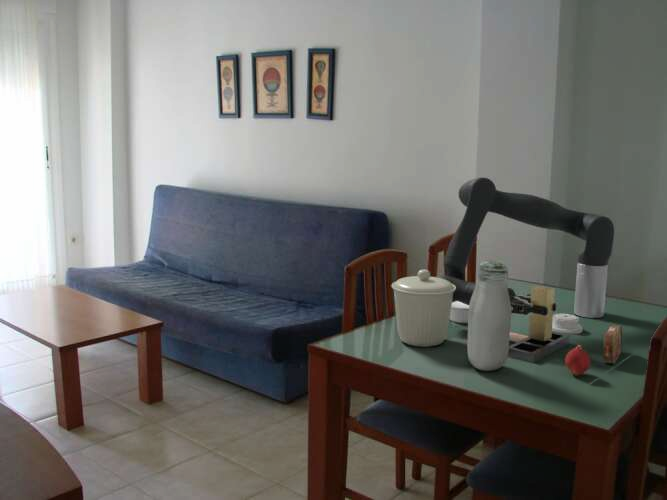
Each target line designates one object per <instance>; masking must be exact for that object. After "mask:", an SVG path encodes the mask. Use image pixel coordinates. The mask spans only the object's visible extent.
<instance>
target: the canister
mask: <svg viewBox="0 0 667 500" xmlns="http://www.w3.org/2000/svg"><path fill="white" fill-rule="evenodd" d="M437 277H438V276H431V272H430V271H429V270H428V269H420V270H419V271H417V275H413V276H405V277H401V278H399V279H397V281H394V282H392V284H391V288H392V290H393V293H394V294H393V295H394V296H393V297H394V307H395V317H396V326H397V334H398V337H399V339H400V340H401V341H402V342H404V343H405V344H406V345H409V346H410V345H411V346H412V347H413V346H414V347H423V348H424V347H427V348H428V347H435V346H436V347H437V345H441V344H442V343H444V341H445V339H446V337H447V333H448V329H449V324H450V319H449V318H450V312H451V305H452V299H453V292H454V291H455V290H456V286H455V285H453V284H452V283H451V282H449V281H447V280H445V279H442V278H437Z"/></svg>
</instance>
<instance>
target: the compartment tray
mask: <svg viewBox="0 0 667 500" xmlns="http://www.w3.org/2000/svg"><path fill="white" fill-rule="evenodd" d="M569 344H570V334H565V333H559V332H555V331H552V337H551V338H550V339H548V340H546V341H541V340H536V339H532V338H529V337H527V338H525V339H523V340H521V341H519V342H515V343H513V344H511V345H510V344H509V350H508V356H507V357H509V358H514V359H518V360H520V361H524V362H529V363H532V364H534V363H536V362H537V361H540V360H541V359H543V358H546V357H547V356H548V355H551V354H553V353H554V352H556V351H558V350H560V349H561V348H563V347H565V346H567V345H569Z"/></svg>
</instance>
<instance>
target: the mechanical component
mask: <svg viewBox="0 0 667 500" xmlns="http://www.w3.org/2000/svg"><path fill="white" fill-rule="evenodd" d="M579 322H580V318H579V317H578V316H576V315H575V314H568V313H554V314H553V322H552V332H555V333H560V334H567V335H579V334H581V333H583V326H582V325H581V324H579Z"/></svg>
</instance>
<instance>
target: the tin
mask: <svg viewBox="0 0 667 500" xmlns="http://www.w3.org/2000/svg"><path fill="white" fill-rule="evenodd" d="M622 346H623V329H622V325H615V324H613V325H610V326H609V327H608V328H607V330H606V331H605V333H604V336H603V362H604V363H605V364H613V365H615V364H616V361H617V360H618V359H619V356H620V355H621V354H622V349H623V347H622Z"/></svg>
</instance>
